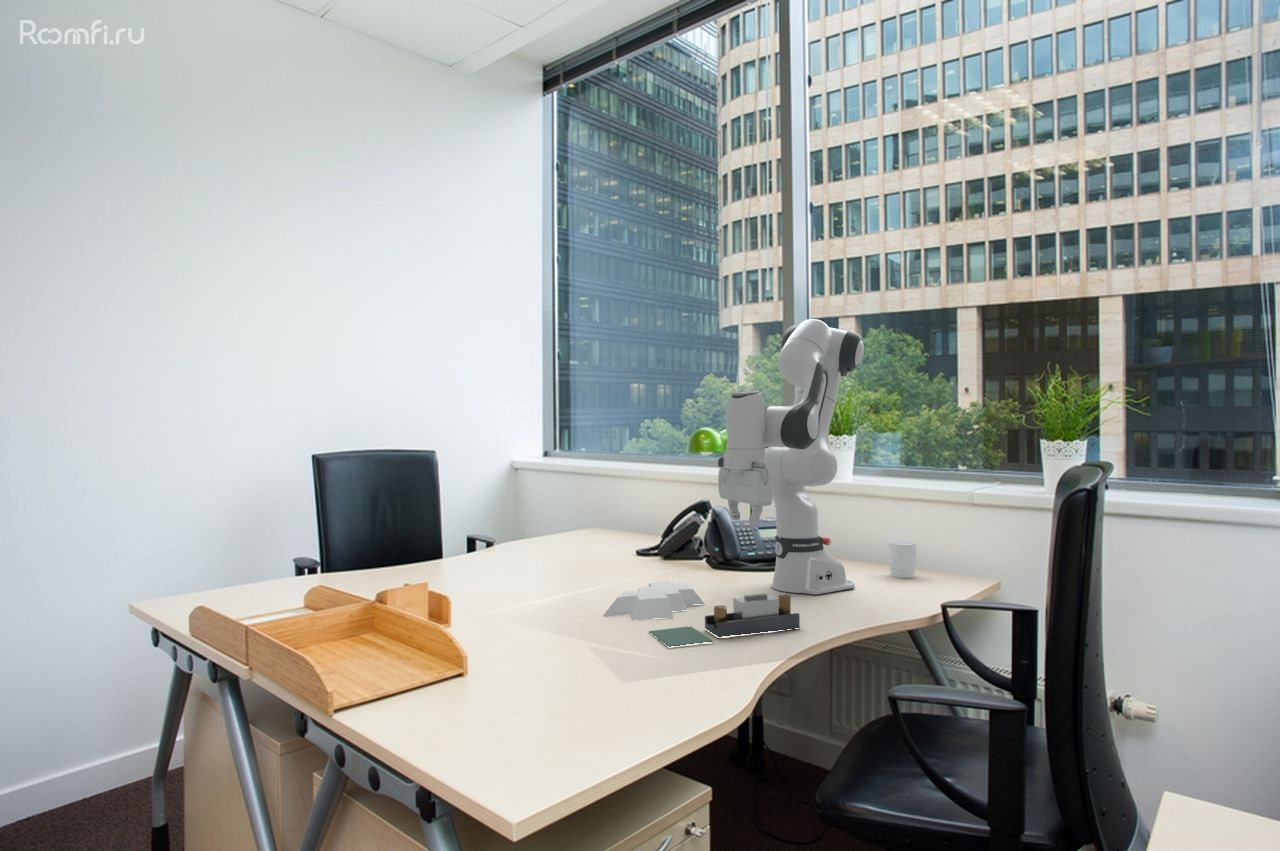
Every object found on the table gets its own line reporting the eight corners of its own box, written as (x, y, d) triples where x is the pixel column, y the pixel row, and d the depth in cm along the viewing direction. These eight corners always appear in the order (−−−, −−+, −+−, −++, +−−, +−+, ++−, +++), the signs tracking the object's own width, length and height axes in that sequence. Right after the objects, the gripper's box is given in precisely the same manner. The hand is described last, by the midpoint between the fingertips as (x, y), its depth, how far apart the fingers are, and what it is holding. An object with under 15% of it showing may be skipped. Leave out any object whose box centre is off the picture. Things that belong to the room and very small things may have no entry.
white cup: (882, 575, 229) (882, 541, 228) (903, 572, 232) (902, 539, 232) (902, 580, 221) (901, 545, 221) (922, 577, 225) (922, 543, 225)
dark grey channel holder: (783, 621, 180) (783, 591, 179) (799, 629, 173) (799, 598, 173) (705, 631, 173) (704, 600, 173) (718, 639, 166) (718, 607, 166)
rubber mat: (690, 629, 174) (690, 626, 174) (713, 644, 163) (712, 640, 163) (648, 634, 171) (648, 631, 171) (669, 649, 160) (669, 646, 160)
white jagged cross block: (653, 634, 173) (652, 610, 173) (584, 622, 184) (583, 599, 184) (727, 602, 202) (727, 581, 202) (663, 593, 213) (663, 573, 213)
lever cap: (769, 616, 177) (768, 591, 177) (778, 621, 173) (778, 595, 173) (733, 620, 174) (733, 595, 174) (742, 625, 170) (742, 599, 170)
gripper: (780, 463, 167) (779, 527, 167) (737, 459, 187) (737, 516, 187) (754, 463, 165) (753, 528, 165) (713, 459, 185) (713, 517, 185)
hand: (744, 522), depth 176 cm, fingers open, 8 cm apart
